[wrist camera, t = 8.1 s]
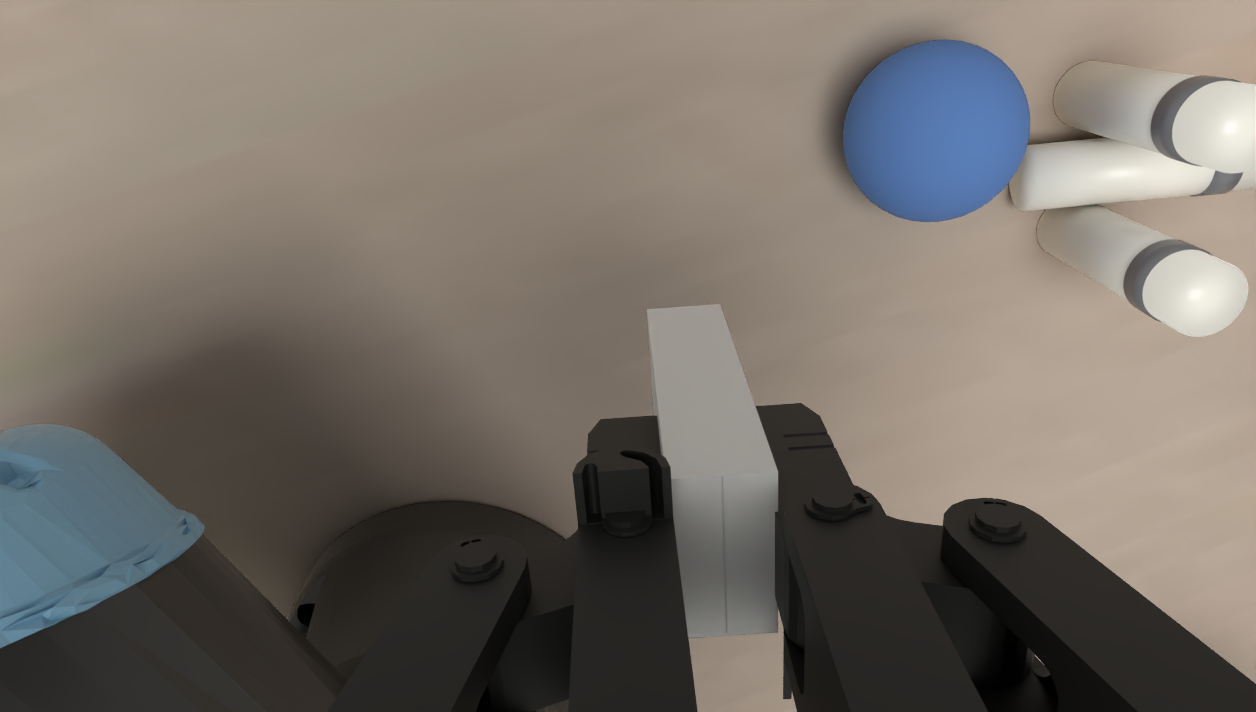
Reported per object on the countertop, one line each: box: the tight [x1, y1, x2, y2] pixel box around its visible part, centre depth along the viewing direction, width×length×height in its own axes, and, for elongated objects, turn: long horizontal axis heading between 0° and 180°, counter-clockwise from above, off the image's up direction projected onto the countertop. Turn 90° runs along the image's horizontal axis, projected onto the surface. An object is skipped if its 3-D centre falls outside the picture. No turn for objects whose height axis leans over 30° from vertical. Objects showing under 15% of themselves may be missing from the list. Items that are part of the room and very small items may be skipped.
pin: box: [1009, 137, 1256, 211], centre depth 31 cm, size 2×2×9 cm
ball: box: [843, 40, 1030, 222], centre depth 29 cm, size 6×6×6 cm
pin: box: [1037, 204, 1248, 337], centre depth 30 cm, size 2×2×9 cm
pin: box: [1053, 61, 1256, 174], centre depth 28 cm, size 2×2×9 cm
